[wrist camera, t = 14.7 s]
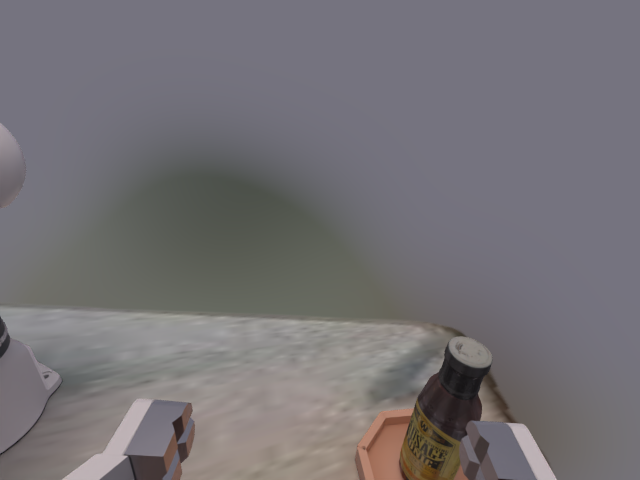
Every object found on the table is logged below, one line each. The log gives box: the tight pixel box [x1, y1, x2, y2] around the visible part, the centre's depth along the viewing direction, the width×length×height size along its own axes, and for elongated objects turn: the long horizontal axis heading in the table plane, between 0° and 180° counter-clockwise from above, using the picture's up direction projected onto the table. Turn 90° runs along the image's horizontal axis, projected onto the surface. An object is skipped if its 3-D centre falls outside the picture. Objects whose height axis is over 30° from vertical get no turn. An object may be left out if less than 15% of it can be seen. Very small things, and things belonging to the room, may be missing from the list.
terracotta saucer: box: [355, 409, 469, 480], centre depth 41 cm, size 15×15×2 cm
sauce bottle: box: [399, 337, 492, 480], centre depth 37 cm, size 7×6×20 cm
